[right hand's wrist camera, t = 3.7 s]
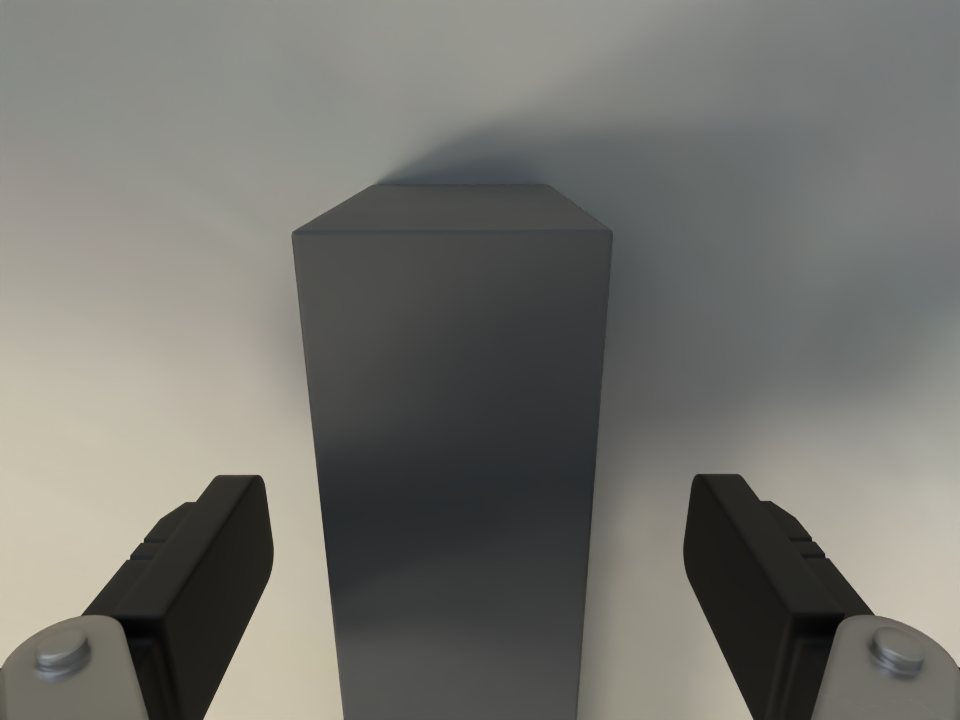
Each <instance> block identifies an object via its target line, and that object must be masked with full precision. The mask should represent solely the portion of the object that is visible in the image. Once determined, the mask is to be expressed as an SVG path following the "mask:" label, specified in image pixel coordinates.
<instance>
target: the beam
mask: <svg viewBox="0 0 960 720" xmlns="http://www.w3.org/2000/svg"><path fill="white" fill-rule="evenodd" d="M612 240H613V233H612V231H611V230H610V229H609V228H607V227H606V226H604V225H603V224H602V223H600V222H599V221H598V220H596V219H595V218H593V217H592V216H591V215H589V214H588V213H587V212H585V211H584V210H582V209H581V208H580V207H578V206H577V205H575V204H574V203H573V202H571V201H570V200H569V199H567V198H566V197H564V196H563V195H562V194H560V193H559V192H558V191H556V190H555V189H553V188H552V187H551V186H549V185H372V186H370V187H368V188H366V189H365V190H363V191H361V192H359V193H358V194H356V195H354V196H353V197H351V198H349V199H348V200H346V201H344V202H342V203H341V204H339V205H337V206H336V207H334V208H332V209H331V210H329V211H327V212H325V213H324V214H322V215H320V216H319V217H317V218H315V219H314V220H312V221H310V222H308V223H307V224H305V225H303V226H302V227H300V228H298V229H297V230H295V231H293V232H292V244H293V254H294V263H295V272H296V281H297V291H298V300H299V309H300V318H301V328H302V337H303V346H304V355H305V365H306V374H307V383H308V392H309V402H310V411H311V420H312V429H313V439H314V448H315V457H316V466H317V476H318V485H319V494H320V503H321V513H322V522H323V531H324V540H325V550H326V559H327V568H328V577H329V587H330V596H331V605H332V614H333V624H334V633H335V642H336V651H337V661H338V670H339V679H340V688H341V698H342V707H343V716H344V720H577V707H578V694H579V680H580V667H581V654H582V640H583V627H584V614H585V600H586V587H587V574H588V560H589V547H590V534H591V520H592V507H593V493H594V480H595V467H596V453H597V440H598V427H599V413H600V400H601V387H602V373H603V360H604V347H605V333H606V320H607V306H608V293H609V280H610V266H611V253H612Z"/></svg>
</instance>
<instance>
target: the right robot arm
mask: <svg viewBox="0 0 960 720" xmlns="http://www.w3.org/2000/svg"><path fill="white" fill-rule="evenodd" d="M273 556H274V548H273V539H272V532H271V525H270V517H269V510H268V503H267V496H266V489H265V484H264V481H263V479H262V477H261V476H260V475H218V476H216V477H215V478H214V479H213V480H212V482H211V483H210V484H209V486H208V487H207V488H206V489H205V491H204V492H203V493H202V495H201V496H200V497H199V499H198V500H197V501H196V502H185V503H184V504H182V505H181V506H179V507H178V508H176V509H175V510H173V511H172V512H170V513H169V514H167V515H166V516H164V517H163V518H161V519H160V520H159V521H158V523H157V524H156V525H155V526H154V528H153V529H152V530H151V531H150V532H149V534H148V535H147V536H146V537H145V538H144V543H140V545H139V546H138V547H137V548H136V549H135V551H134V552H133V553H132V554H131V555H130V560H126V562H125V563H124V564H123V565H122V566H121V568H120V569H119V570H118V571H117V572H116V574H115V575H114V576H113V577H112V579H111V580H110V581H109V582H108V583H107V585H106V586H105V587H104V588H103V590H102V591H101V592H100V593H99V594H98V596H97V597H96V598H95V599H94V600H93V602H92V603H91V604H90V605H89V607H88V608H87V609H86V610H85V611H84V613H83V614H82V615H81V616H79V617H75V618H70V619H67V620H64V621H61V622H58V623H56V624H54V625H51V626H49V627H47V628H45V629H43V630H41V631H39V632H38V633H36V634H35V635H33V636H31V637H30V638H28V639H27V640H26V641H25V642H23V643H22V644H21V645H20V646H18V647H17V648H16V649H15V650H14V651H13V652H12V653H11V655H10V656H9V657H8V658H7V659H6V661H5V663H4V664H3V666H2V668H0V720H203V719H204V717H205V714H206V712H207V710H208V708H209V706H210V704H211V702H212V700H213V697H214V695H215V693H216V691H217V689H218V687H219V685H220V683H221V680H222V678H223V676H224V674H225V672H226V670H227V668H228V666H229V663H230V661H231V659H232V657H233V655H234V653H235V651H236V649H237V646H238V644H239V642H240V640H241V638H242V636H243V634H244V632H245V629H246V627H247V625H248V623H249V621H250V619H251V617H252V615H253V612H254V610H255V608H256V606H257V604H258V602H259V600H260V597H261V595H262V593H263V591H264V589H265V587H266V585H267V583H268V580H269V578H270V575H271V570H272V565H273ZM683 556H684V565H685V570H686V574H687V577H688V579H689V582H690V584H691V586H692V588H693V590H694V592H695V595H696V597H697V599H698V601H699V603H700V605H701V608H702V610H703V612H704V614H705V616H706V618H707V620H708V623H709V625H710V627H711V629H712V631H713V633H714V636H715V638H716V640H717V642H718V644H719V646H720V648H721V651H722V653H723V655H724V657H725V659H726V661H727V664H728V666H729V668H730V670H731V672H732V674H733V676H734V679H735V681H736V683H737V685H738V687H739V689H740V692H741V694H742V696H743V698H744V700H745V702H746V704H747V707H748V709H749V711H750V713H751V715H752V717H753V719H754V720H960V668H959V667H958V666H957V664H956V663H955V661H954V659H953V658H952V657H951V656H950V655H949V653H948V652H947V651H946V650H945V649H944V648H943V647H942V646H940V645H939V644H938V643H937V642H935V641H934V640H933V639H932V638H930V637H929V636H927V635H925V634H924V633H922V632H921V631H919V630H917V629H915V628H913V627H911V626H909V625H906V624H904V623H902V622H899V621H896V620H893V619H890V618H885V617H881V616H875V615H874V613H873V612H872V611H871V610H870V608H869V607H868V606H867V605H866V603H865V602H864V601H863V600H862V599H861V597H860V596H859V595H858V594H857V592H856V591H855V590H854V589H853V588H852V586H851V585H850V584H849V583H848V581H847V580H846V579H845V578H844V577H843V575H842V574H841V573H840V572H839V570H838V569H837V568H836V567H835V565H834V564H833V563H832V562H831V561H830V559H829V558H826V557H825V553H824V552H823V551H822V550H821V548H820V547H819V546H818V545H817V543H816V542H812V537H811V536H810V535H809V534H808V532H807V531H806V530H805V529H804V527H803V526H802V525H801V524H800V523H799V521H798V520H797V519H796V518H795V517H794V516H792V515H791V514H789V513H788V512H786V511H785V510H783V509H782V508H780V507H779V506H777V505H776V504H774V503H773V502H771V501H760V500H759V498H758V497H757V496H756V495H755V493H754V492H753V491H752V489H751V488H750V487H749V485H748V484H747V483H746V481H745V480H744V479H743V477H742V476H740V475H739V474H697V475H696V476H695V477H694V479H693V482H692V487H691V494H690V501H689V508H688V515H687V522H686V530H685V537H684V545H683Z"/></svg>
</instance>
